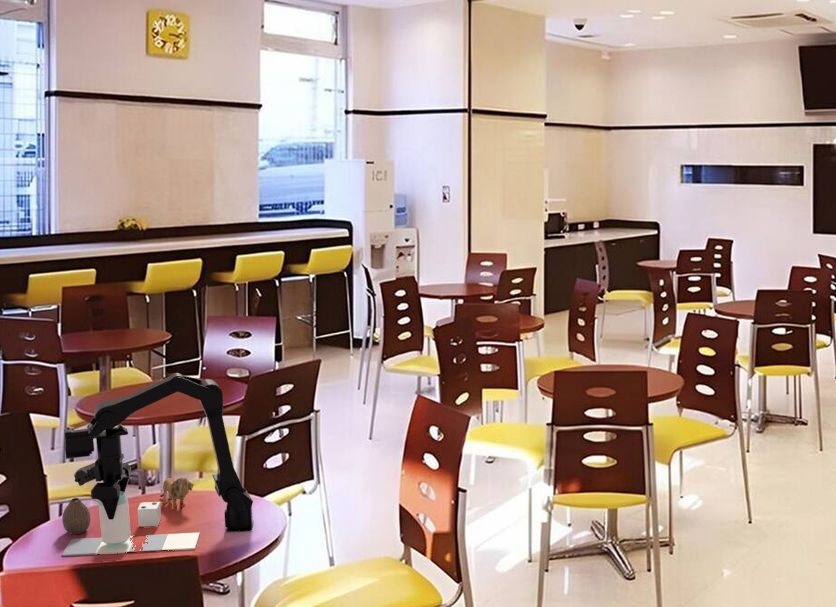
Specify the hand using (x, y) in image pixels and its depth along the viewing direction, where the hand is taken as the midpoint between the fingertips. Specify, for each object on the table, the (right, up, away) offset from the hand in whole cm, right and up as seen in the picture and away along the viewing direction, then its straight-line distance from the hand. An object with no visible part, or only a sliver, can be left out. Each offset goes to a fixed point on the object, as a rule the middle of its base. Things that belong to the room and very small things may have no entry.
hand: (114, 513), depth 256 cm
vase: (-13, -7, +11) cm, 18 cm away
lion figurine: (+9, -4, +29) cm, 31 cm away
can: (0, -7, +1) cm, 7 cm away
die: (+5, -6, +16) cm, 17 cm away
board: (+4, -8, +2) cm, 9 cm away
